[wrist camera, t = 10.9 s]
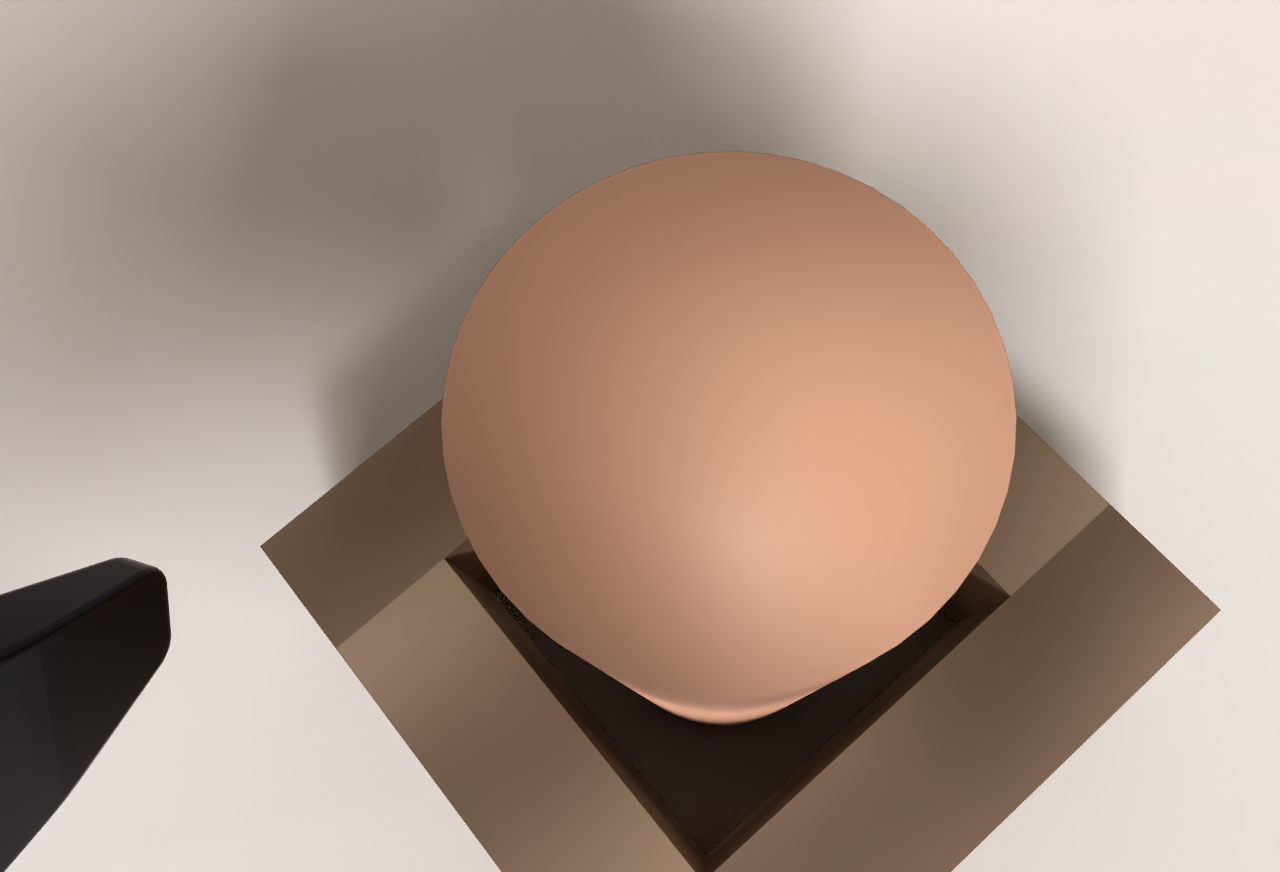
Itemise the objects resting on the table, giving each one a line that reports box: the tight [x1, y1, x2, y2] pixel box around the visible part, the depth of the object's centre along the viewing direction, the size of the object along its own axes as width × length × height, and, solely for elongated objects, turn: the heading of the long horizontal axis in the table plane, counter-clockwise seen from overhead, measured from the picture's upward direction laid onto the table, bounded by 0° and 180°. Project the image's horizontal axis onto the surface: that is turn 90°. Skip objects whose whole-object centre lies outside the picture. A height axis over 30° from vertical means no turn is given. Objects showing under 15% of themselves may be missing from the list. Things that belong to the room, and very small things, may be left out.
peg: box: [441, 151, 1016, 726], centre depth 14 cm, size 4×4×13 cm
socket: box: [260, 399, 1220, 872], centre depth 19 cm, size 11×11×4 cm
